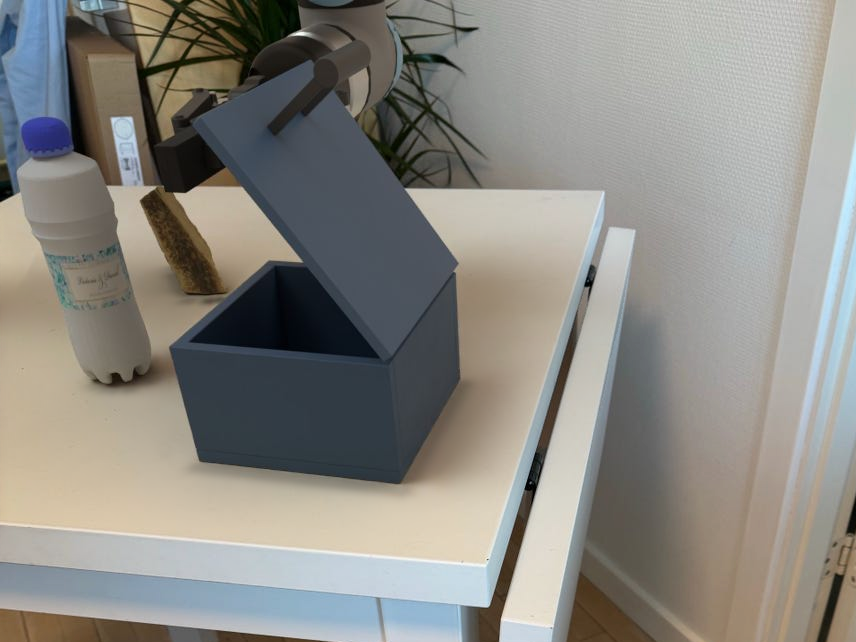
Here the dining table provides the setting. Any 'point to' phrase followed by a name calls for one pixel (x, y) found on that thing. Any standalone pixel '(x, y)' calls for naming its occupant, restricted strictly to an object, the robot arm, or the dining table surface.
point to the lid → (333, 195)
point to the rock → (181, 243)
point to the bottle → (82, 252)
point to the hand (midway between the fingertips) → (170, 169)
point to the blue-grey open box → (312, 380)
